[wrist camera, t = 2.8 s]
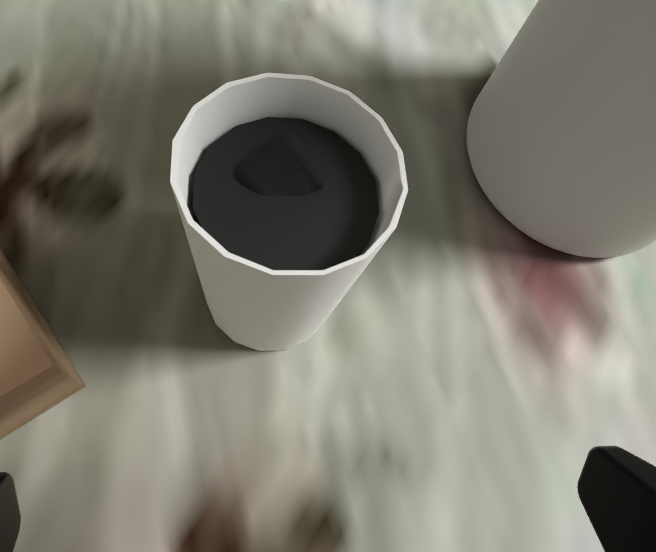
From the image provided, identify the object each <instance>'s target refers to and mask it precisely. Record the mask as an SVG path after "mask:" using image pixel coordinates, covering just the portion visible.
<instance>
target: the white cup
mask: <svg viewBox="0 0 656 552" xmlns="http://www.w3.org/2000/svg"><path fill="white" fill-rule="evenodd" d="M170 183H171V186H172V190H173V193H174V196H175V200H176V203H177V206H178V210H179V213H180V216H181V219H182V223H183V226H184V229H185V233H186V236H187V239H188V243H189V246H190V249H191V252H192V256H193V259H194V262H195V266H196V269H197V272H198V276H199V279H200V282H201V285H202V289H203V292H204V295H205V299H206V302H207V305H208V307H209V309H210V312H211V314H212V316H213V319H214V321H215V324H216V325H217V326H218V327H219V328H220V329H221V330H222V331H223V332H224V333H225V334H227V335H228V336H229V337H230V338H231V339H232V340H233V341H234V342H236V343H239V344H241V345H244V346H247V347H249V348H252V349H255V350H257V351H280V350H286V349H289V348H291V347H293V346H296V345H298V344H300V343H302V342H305V341H307V340H308V339H309V338H310V337H311V336H312V335H313V334H314V333H315V332H316V331H317V330H318V329H319V328H320V326H321V325H322V324H323V323H324V322H325V320H326V319H327V318H328V317H329V315H330V314H331V313H332V311H333V310H334V309H335V307H336V306H337V305H338V303H339V302H340V301H341V299H342V298H343V297H344V296H345V294H346V293H347V292H348V290H349V289H350V288H351V286H352V285H353V284H354V282H355V281H356V280H357V278H358V277H359V276H360V275H361V273H362V272H363V271H364V269H365V268H366V267H367V265H368V264H369V263H370V261H371V260H372V259H373V257H374V256H375V255H376V254H377V252H378V251H379V250H380V248H381V247H382V246H383V244H384V243H385V242H386V240H387V239H388V238H389V236H390V235H391V234H392V233H393V231H394V230H395V229H396V227H397V224H398V221H399V218H400V214H401V211H402V208H403V205H404V202H405V199H406V196H407V193H408V185H407V178H406V171H405V164H404V157H403V151H402V150H401V148H400V146H399V145H398V143H397V141H396V140H395V138H394V136H393V135H392V133H391V131H390V130H389V128H388V126H387V125H386V123H385V121H384V120H383V118H382V117H381V116H380V115H378V114H377V113H376V112H375V111H373V110H372V109H371V108H370V107H369V106H367V105H366V104H365V103H364V102H362V101H361V100H360V99H359V98H358V97H356V96H355V95H354V94H353V93H351V92H350V91H348V90H345V89H343V88H340V87H338V86H335V85H333V84H330V83H327V82H325V81H322V80H320V79H317V78H315V77H312V76H307V75H294V74H281V73H263V74H259V75H255V76H251V77H247V78H243V79H239V80H235V81H231V82H227V83H225V84H224V85H222V86H221V87H220V88H218V89H217V90H215V91H214V92H212V93H211V94H210V95H208V96H207V97H205V98H204V99H202V100H201V101H199V102H198V103H197V104H195V105H194V106H193V107H192V108H191V110H190V112H189V114H188V115H187V117H186V119H185V120H184V122H183V124H182V125H181V127H180V129H179V130H178V132H177V134H176V136H175V137H174V139H173V141H172V158H171V175H170Z"/></svg>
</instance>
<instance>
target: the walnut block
mask: <svg viewBox="0 0 656 552" xmlns="http://www.w3.org/2000/svg"><path fill="white" fill-rule="evenodd" d="M83 387H85V384H84V383H83V381H82V379H81V378H80V376H79V375H78V373H77V371H76V370H75V368H74V367H73V365H72V363H71V362H70V360H69V358H68V357H67V355H66V354H65V352H64V350H63V349H62V347H61V345H60V344H59V342H58V341H57V339H56V337H55V336H54V334H53V332H52V331H51V329H50V328H49V326H48V324H47V323H46V321H45V320H44V318H43V316H42V315H41V313H40V311H39V310H38V308H37V307H36V305H35V303H34V302H33V300H32V298H31V297H30V295H29V294H28V292H27V290H26V289H25V287H24V286H23V284H22V282H21V281H20V279H19V277H18V276H17V274H16V273H15V271H14V269H13V268H12V266H11V264H10V263H9V261H8V260H7V258H6V256H5V255H4V253H3V251H2V250H1V248H0V439H2V438H3V437H5V436H6V435H8V434H10V433H11V432H13V431H14V430H16V429H18V428H19V427H21V426H22V425H24V424H26V423H27V422H29V421H30V420H32V419H34V418H35V417H37V416H38V415H40V414H42V413H43V412H45V411H46V410H48V409H50V408H51V407H53V406H55V405H56V404H58V403H59V402H61V401H63V400H64V399H66V398H67V397H69V396H71V395H72V394H74V393H75V392H77V391H79V390H80V389H82V388H83Z"/></svg>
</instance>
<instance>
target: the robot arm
mask: <svg viewBox="0 0 656 552" xmlns="http://www.w3.org/2000/svg"><path fill="white" fill-rule="evenodd" d="M578 494H579V497H580V500H581V502H582V504H583V506H584V509H585V511H586V513H587V515H588V517H589V519H590V521H591V523H592V525H593V528H594V530H595V532H596V534H597V536H598V538H599V540H600V542H601V544H602V547H603V549H604V551H605V552H656V467H655V466H653V465H652V464H650V463H648V462H646V461H644V460H642V459H641V458H639V457H637V456H635V455H633V454H631V453H630V452H628V451H626V450H624V449H622V448H620V447H617V446H597V447H594V448H592V449H591V450H590V451H589V453H588V456H587V458H586V461H585V464H584V467H583V469H582V472H581V475H580V478H579V480H578ZM20 522H21V516H20V510H19V505H18V500H17V495H16V490H15V485H14V480H13V478H12V476H11V475H10V474H9V473H6V472H0V552H13V550H14V546H15V543H16V540H17V537H18V533H19V529H20Z"/></svg>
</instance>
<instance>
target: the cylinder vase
mask: <svg viewBox="0 0 656 552" xmlns="http://www.w3.org/2000/svg"><path fill="white" fill-rule="evenodd" d="M467 148H468V154H469V159H470V162H471V166H472V169H473V171H474V174H475V176H476V178H477V180H478V182H479V184H480V186H481V188H482V189H483V191H484V193H485V194H486V196H487V197H488V199H489V200H490V201H491V203H492V204H493V205H494V206H495V207H496V209H497V210H498V211H499V212H500V213H501V214H502V215H503V216H504V217H505V218H506V219H507V220H508V221H509V222H510V223H512V224H513V225H514V226H515V227H517V228H518V229H519V230H520V231H522V232H523V233H525V234H526V235H528V236H529V237H531V238H533V239H534V240H536V241H538V242H540V243H542V244H544V245H546V246H548V247H551V248H553V249H556V250H558V251H561V252H564V253H568V254H572V255H577V256H583V257H592V258H607V257H616V256H621V255H625V254H629V253H632V252H635V251H637V250H639V249H641V248H643V247H645V246H647V245H649V244H651V243H652V242H654V241H656V0H539V1H538V2H537V4H536V6H535V7H534V9H533V10H532V12H531V13H530V15H529V17H528V18H527V20H526V21H525V23H524V24H523V26H522V28H521V29H520V31H519V32H518V34H517V36H516V37H515V39H514V40H513V42H512V43H511V45H510V47H509V48H508V50H507V51H506V53H505V54H504V56H503V58H502V59H501V61H500V62H499V64H498V65H497V67H496V69H495V70H494V72H493V73H492V75H491V77H490V78H489V80H488V81H487V83H486V84H485V86H484V88H483V89H482V91H481V92H480V94H479V95H478V97H477V99H476V101H475V102H474V105H473V107H472V109H471V112H470V115H469V120H468V125H467Z"/></svg>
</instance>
